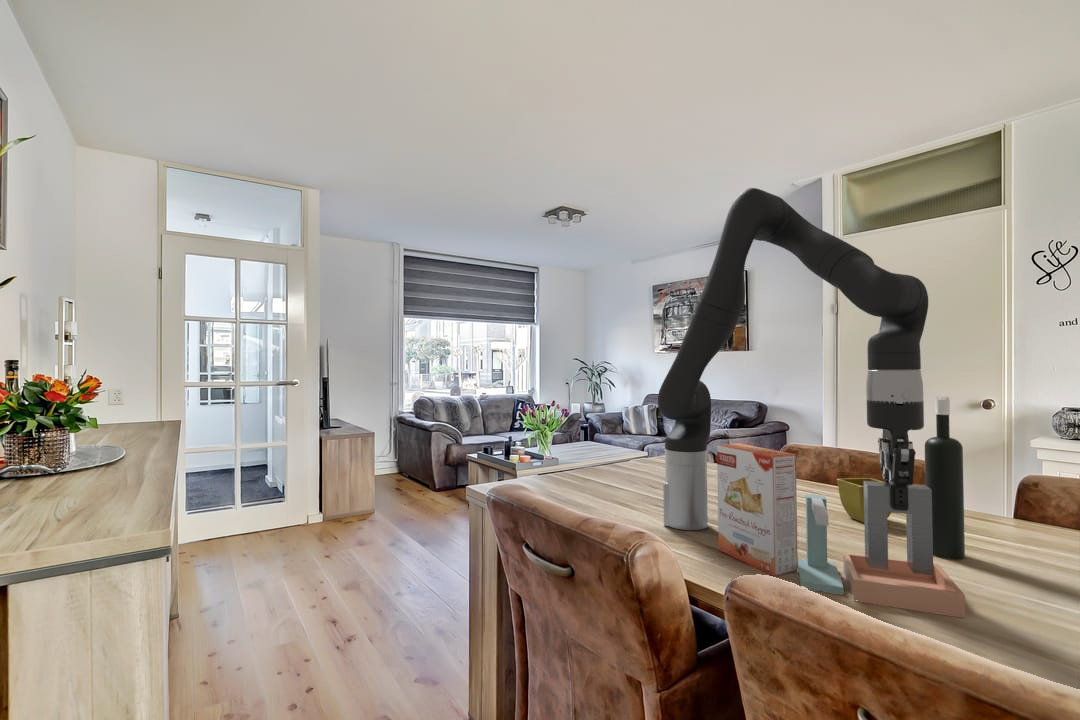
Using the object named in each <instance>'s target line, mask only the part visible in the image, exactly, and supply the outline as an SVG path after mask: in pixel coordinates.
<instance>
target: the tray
mask: <svg viewBox="0 0 1080 720" xmlns="http://www.w3.org/2000/svg"><path fill="white" fill-rule="evenodd" d="M842 554H843V555H842V556H843V557H842V559H843V560H842V561H843V566H842V567H843V568H842V569H843V570H842V571H843V574H844V576H845V579H847V580H846V583H847V582H848V583H847V585H848V587H849V588H848V589H849V591H850V590H851V591H850V593H852V594H851V596H853V597H852V599H853V601H854V600H855V601H854V602H856V600H858V601H862V602H861V603H863V602H866V603H865V604H869V603H874V604H873V605H876V604H880V605H879V606H883V605H885V606H884V607H889V606H892V607H891V608H895V609H896V608H897V609H902V608H903V609H905V610H910V611H916V612H923V613H930V614H937V615H943V616H949V617H956V618H962V619H966V604H965V603H966V600H965V594H964V592H963V591H962V590H961V589H960V587H959V586H958V585H957V584H956V583H955V582H954V580H953V579H952V578H951V577H950V576H949V575H948V573H947V572H946V571H945V570H944V569H943V567H942V566H941V565H940V564H939V563H934V562H933V574H934V576H933V575H925V574H917V573H913V572H912V571H911V569H910V568H909V567H908V565H907V559H900V558H898V559H897V558H891V557H888V570H886V569H878V568H870V567H869V566H868V564H867V562H866V560H865V554H859V553H858V554H857V553H851V552H850V553H849V552H843V553H842Z"/></svg>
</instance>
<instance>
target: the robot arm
mask: <svg viewBox="0 0 1080 720" xmlns="http://www.w3.org/2000/svg"><path fill="white" fill-rule="evenodd" d="M754 241H759V242H761V241H762V242H766V243H769V244H772V245H775V246H778V247H780V248H782V249H785V250H787V251H788V252H790V253H791V254H793V255H794V256H795V257H796V258H797V259H798V260H800V262H801V263H802V264H803V265H804V266H805V267H806V268H807V269H808V270H810V272H812V273H813V274H814V275H816V276H817V277H819V278H820V279H822V280H823V281H825V282H827V283H829V284H830V285H831V286H833V287H835V288H837V289H839V291H840V292H841V293H842V294H843V295H844V296H845V297H846V299H848V300H849V302H851V303H852V304H853V305H854V306H855V307H856V308H857V309H859V310H861V311H862V312H864V313H867V314H868V315H871V316H873V317H876V318H880V324H879V330H878V333H876V334H874V335H872V336H870V337H869V338H868V341H867V375H866V376H867V377H866V424H867V426H868V427H869V428H872V429H879V430H882V435H881V436H882V437H878V440H877V443H878V444H877V445H878V452H879V462H880V463H879V464H880V468H879V471H880V472H881V473H882V478H883V480H884V482H888V483H890V499H891V508H892V509H894V510H901V511H907V510H908V487H909V486H910V485H912V484H914V474H915V473H914V469H915V458H916V457H915V456H916V451H915V448H914V443H913V441H910V439H909V431H920V430H922V429H923V428H924V427H925V419H924V418H925V413H924V406H925V405H924V403H925V402H924V381H923V377H922V370H921V369H922V367H921V365H922V364H921V363H922V362H921V360H922V359H921V344H920V343H921V340H922V335H923V333H924V330H925V325H926V320H927V315H928V310H929V295H928V291H927V287H926V286H925V284H924V283H923V281H921V279H920V278H918V277H916V276H913V275H910V274H902V273H896V272H895V273H894V272H891V271H889V270H886V269H884V268H882V267H880V266H878V265H877V264H875V260H874V259H873V258H872V257H871V256H870V255H869V254H867V253H866V252H864V251H863V250H860V249H859V248H857V247H855V246H853V245H852V244H851V243H848V242H847V241H845V240H842V239H841V238H839V237H837V236H835V235H833V234H831V233H829V232H826V231H825V230H823V229H821V228H818V227H817V226H815V225H814V224H812V223H811V222H810V221H808V220H807V219H806V218H804V217H803V216H802V215H801V214H800V213H798V212H797V210H795V209H794V208H793V206H791V205H790V204H788V203H787V202H786V201H785V200H784V199H783V198H781V196H778V195H775V194H772V193H770V192H768V191H765V190H764V189H763V190H762V189H760V188H756V187H748V188H747V189H745V190H742V191H741V192H740V193H739V194H738V195H737V196H736V197H735V199H734V200H733V202H732V203H731V205H730V208H729V210H728V212H727V214H726V218H725V222H724V225H723V228H722V233H721V236H720V239H719V244H718V246H717V249H716V250H717V251H716V253H715V256H714V259H713V262H712V263H711V264H712V265H711V267H710V269H709V272H708V275H707V279H706V281H705V284H704V287H703V289H702V291H701V294H700V295H699V297H698V298H699V299H698V301H697V303H696V306H695V308H694V311H693V314H692V316H691V319H690V322H689V325H688V327H687V330H686V332H685V335H684V337H683V338H682V339H683V340H682V342H681V343H680V344H681V345H680V347H679V349H678V352H677V354H676V356H675V359H674V360H673V362H672V365H671V366H670V368H669V370H668V372H667V374H666V376H665V378H664V379H663V381H662V383H661V386H660V389H659V391H658V395H657V406H658V410H659V412H660V414H661V415H662V416H663V417H664V418H666V419H668V420H672V421H675V422H674V426H673V428H672V430H671V431H670V432H669V433H668V434H667V435H665V438H664V460H665V461H664V464H665V465H664V469H665V470H664V471H665V472H664V473H665V474H664V475H665V478H664V479H665V481H664V482H663V485H662V487H663V488H662V489H663V492H662V493H663V526H664V527H665V526H666V527H671V528H673V529H676V530H681V531H700V530H701V531H702V530H704V529H705V530H706V528H707V527H708V524H709V523H708V519H709V515H708V450H707V449H708V448H707V447H708V446H707V444H708V441H709V439H710V435H711V426H712V424H711V423H712V398H711V397H712V396H711V394H710V390H709V388H708V386H707V385H706V384H705V383H704V382H703V381H701V378H702V375H703V373H704V371H705V370H706V367H707V366H708V365H709V364H710V362H711V361H712V359H713V358H714V357H715V356H717V354H718V353H719V352H720V351H721V349H722V348H723V347H724V346H725V344H726V343H727V342H728V341H729V339H730V338H731V337H732V335H733V333H734V331H735V329H736V327H737V325H738V323H739V320H740V318H741V315H742V314H743V313H742V312H743V310H744V307H745V303H746V302H745V301H746V283H745V265H746V260H747V258H748V255H749V252H750V249H751V247H752V244H753V242H754Z"/></svg>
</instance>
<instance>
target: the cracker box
mask: <svg viewBox="0 0 1080 720" xmlns="http://www.w3.org/2000/svg"><path fill="white" fill-rule="evenodd" d="M796 455H797V454H796V453H790V452H788V451H787V452H785V451H782V450H775V449H771V448H764V447H761V446H760V447H759V446H756V445H749V444H744V443H737V442H736V443H723V444H719V445H716V456H717V457H716V460H717V461H716V462H717V463H716V464H717V465H716V466H717V468H716V469H717V470H716V471H717V472H716V473H717V520H718V521H717V529H718V530H717V532H718V533H717V534H718V535H717V536H718V551H720V552H722V553H724V554H726V555H729V556H730V557H732V558H734V559H737V560H739V561H741V562H743V563H745V564H747V565H750V566H751V567H754V568H755V569H758V570H760V571H762V572H763V573H766V574H768V575H770V576H772V575H773V576H772V577H777V576H783V575H786V574H787V575H788V574H791V573H796V572H798V559H799V557H798V552H799V551H798V514H797V513H798V504H797V503H798V502H797V499H798V498H797V496H798V495H797V456H796Z"/></svg>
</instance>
